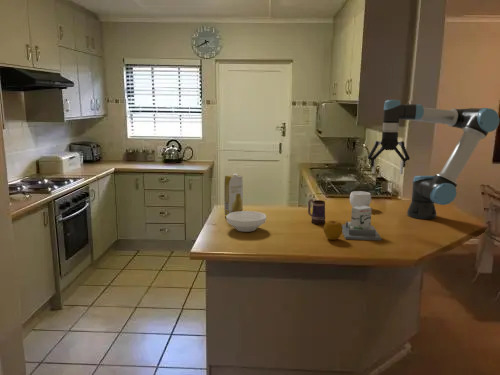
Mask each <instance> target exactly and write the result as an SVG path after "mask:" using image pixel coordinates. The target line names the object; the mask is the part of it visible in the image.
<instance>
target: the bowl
mask: <svg viewBox="0 0 500 375" xmlns="http://www.w3.org/2000/svg"><path fill="white" fill-rule="evenodd" d="M225 217H226V221H227V223H228V224H229V225H231V226H232V227H234V228H235V229H236V230H237V231H238V232H250V233H251V232H255V230H257V229H258V228H259V227H260V226H262V225H263V224H265V223H266V220H267V215H266V214H265V213H263V212H260V211H255V210H254V211H253V210H243V211H238V212H232V213H229V214H228V215H227V216H225Z"/></svg>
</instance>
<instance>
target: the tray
mask: <svg viewBox="0 0 500 375" xmlns="http://www.w3.org/2000/svg"><path fill="white" fill-rule="evenodd" d="M342 227H343V229H342V234H343V237H344V239H345V240H358V241H360V240H361V241H381V242H382V237H381V235H380V234H379V233H378V231H377V230H376V228H375V226H373V225H372V224H371V225H370V227H369V230H363V229H354V227H353V226H351V221H345V224H342Z"/></svg>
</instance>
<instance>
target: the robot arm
mask: <svg viewBox="0 0 500 375" xmlns="http://www.w3.org/2000/svg"><path fill="white" fill-rule="evenodd" d="M382 118H383V120H382V132H381V133H382V134H381V140H380V141H378V140H375V141H374V145H373V147H372V149H371V150H370V152H369V154H368V156H367V159H368V160H370V167H371V168H372V170H371V171H372V174H373V175H375V174H376V163H377V160H375V159H377V158H378V157H379V155H380V154H381V153H383V151H395V153H396V155H397V156H398V157H399V158H400V159H401V160H400V166H399V174H400V175H403V172H404V168H406V162H407V161H410V156H409V153H408V151H407V149H406V146H405V142H404V141H399V126H400V125H399V124H400V120H403V121H412V122H413V121H414V122H421V123H430V124H431V123H432V124H442V125H446V126H448V127H451V128H456V129H462V131H463V133H462V135H461V137H460V139H459V140H458V142H457V143H456V145H455V147H454V149H453V150H452V152H451V153H450V155H449V157H448V159H447V160H446V162H445V164H444V165H443V168H442V169H441V170H440V172H438V173H436V174H434V175H414V176H413V179H412V192H411V201H410V204H409V207H408V209H407V211H406V212H407V213H406V215H407V216H408V217H410V218H414V219H421V220H434V219H436V218H437V209H436V206H435V205H439V206H440V205H441V206H446V205H448V204H451V203H452V202H453V201H454V200H455V198H456V197H457V193H458V192H457V186H458V183H457V179H458V178H459V176H460V174H461V173H462V171H463V170H464V168H465V166H466V165H467V163H468V161H469V160H470V158H471V156H472V154H474V151H475V149H476V148H477V147H478V145H479V142H480V141H481V140H483V139H486V138H487V135H488V134H489V133H491V132H494V131H495V130H497V129H498V127H499V125H500V117H499V113H498V112H497V111H496V110H495V109H493V108H487V107H482V108H481V107H478V108H477V107H475V108H474V107H471V108H470V107H469V108H450V109H441V108H433V107H424V106H423V105H422V104H418V103H401V100H400V99H387V100H385V101H384V104H383V117H382ZM380 145H381V147H380V148H379V149H378V146H380ZM398 145H399V146H400V148H401V150H402V152H401V151H400V150H399V149H398ZM377 149H378V150H377ZM376 150H377V152H376ZM402 153H403V154H402Z"/></svg>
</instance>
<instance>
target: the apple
mask: <svg viewBox="0 0 500 375" xmlns="http://www.w3.org/2000/svg"><path fill="white" fill-rule="evenodd" d="M323 225H324V226H323V233H324V236H325V237H326V238H327V240H330V241H335V240H338V239H339V238H340V237H341V236H342V234H343V232H342V229H343V227H342V225H343V224H342V222H340V221H338V220H328V221H325V223H324V224H323Z"/></svg>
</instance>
